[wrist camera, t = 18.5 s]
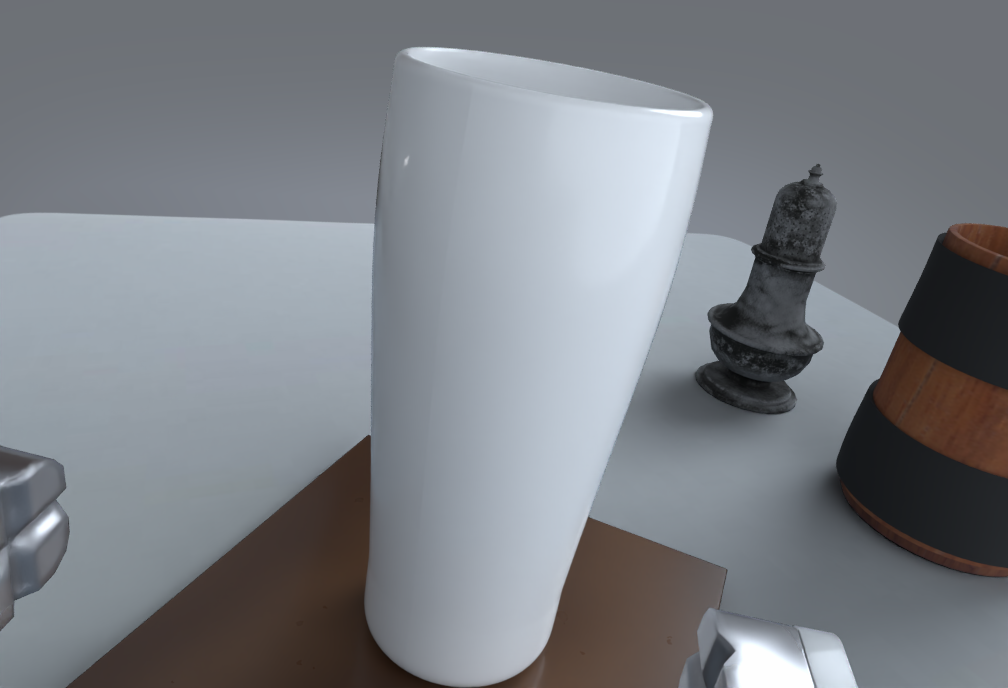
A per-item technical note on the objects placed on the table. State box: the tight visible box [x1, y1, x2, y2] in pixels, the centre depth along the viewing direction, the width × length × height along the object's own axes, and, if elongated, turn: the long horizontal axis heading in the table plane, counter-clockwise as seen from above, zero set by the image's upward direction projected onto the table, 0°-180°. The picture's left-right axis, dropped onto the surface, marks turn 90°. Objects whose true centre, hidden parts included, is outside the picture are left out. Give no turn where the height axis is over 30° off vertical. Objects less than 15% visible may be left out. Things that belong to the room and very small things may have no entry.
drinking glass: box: [364, 47, 713, 688], centre depth 19 cm, size 7×7×15 cm
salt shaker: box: [696, 164, 837, 413], centre depth 40 cm, size 6×6×12 cm
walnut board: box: [66, 435, 727, 688], centre depth 23 cm, size 14×14×1 cm
